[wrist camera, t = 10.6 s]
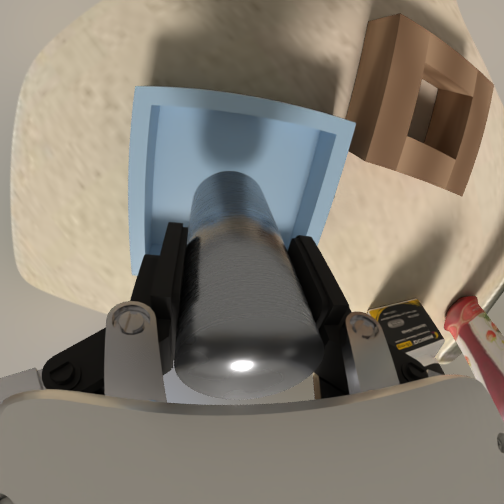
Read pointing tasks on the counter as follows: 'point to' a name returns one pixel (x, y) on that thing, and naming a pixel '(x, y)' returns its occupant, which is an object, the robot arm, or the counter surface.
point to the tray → (229, 159)
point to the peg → (241, 298)
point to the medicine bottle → (411, 331)
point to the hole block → (404, 100)
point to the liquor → (479, 345)
